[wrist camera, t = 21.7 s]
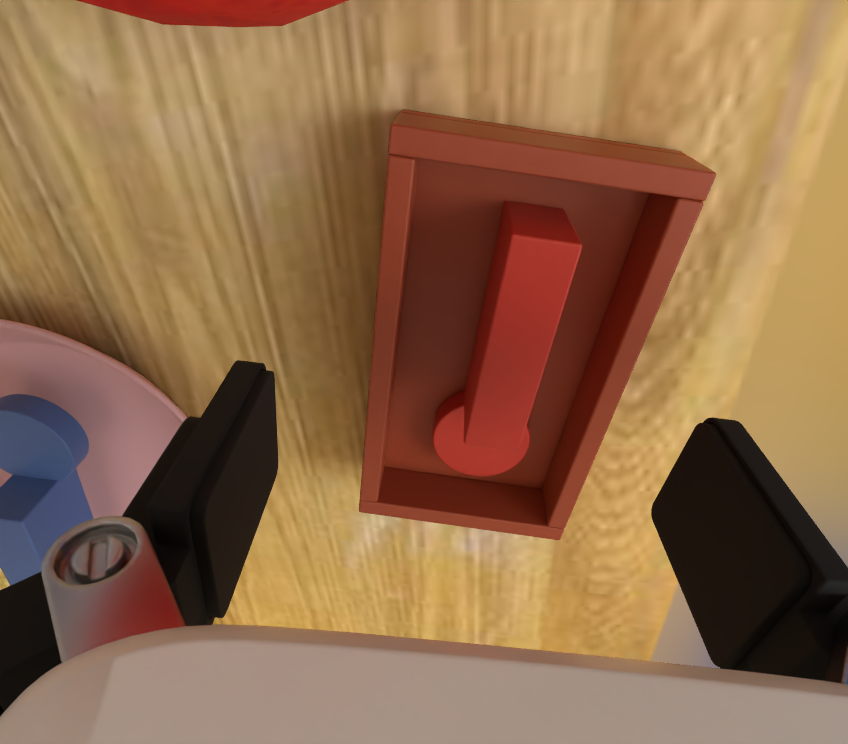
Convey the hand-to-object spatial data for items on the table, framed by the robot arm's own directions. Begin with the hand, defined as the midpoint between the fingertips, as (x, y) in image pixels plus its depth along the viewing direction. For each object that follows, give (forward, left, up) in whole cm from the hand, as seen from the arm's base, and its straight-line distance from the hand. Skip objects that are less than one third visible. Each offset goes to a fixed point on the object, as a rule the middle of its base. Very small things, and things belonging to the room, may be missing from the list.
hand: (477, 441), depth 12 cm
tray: (+1, -2, -7) cm, 8 cm away
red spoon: (+1, -2, -7) cm, 7 cm away
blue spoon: (-15, -11, -5) cm, 19 cm away
